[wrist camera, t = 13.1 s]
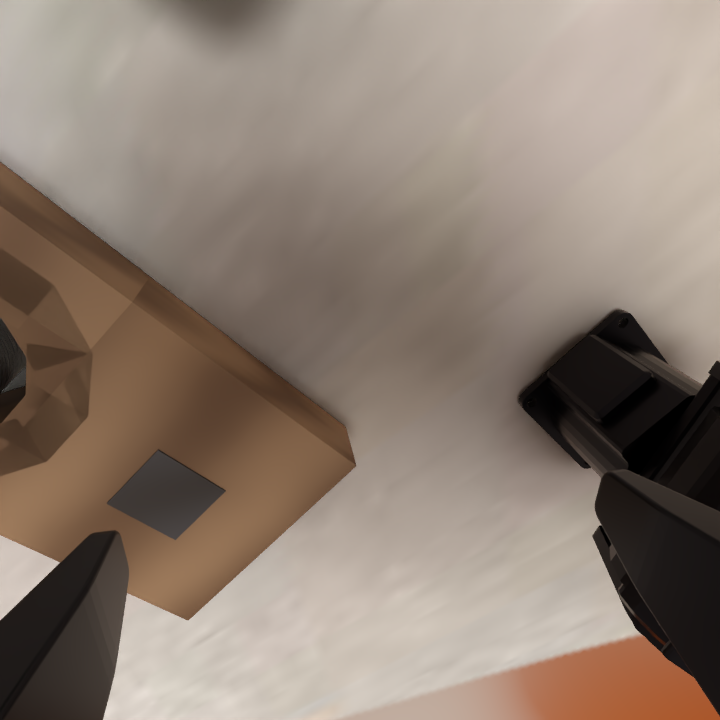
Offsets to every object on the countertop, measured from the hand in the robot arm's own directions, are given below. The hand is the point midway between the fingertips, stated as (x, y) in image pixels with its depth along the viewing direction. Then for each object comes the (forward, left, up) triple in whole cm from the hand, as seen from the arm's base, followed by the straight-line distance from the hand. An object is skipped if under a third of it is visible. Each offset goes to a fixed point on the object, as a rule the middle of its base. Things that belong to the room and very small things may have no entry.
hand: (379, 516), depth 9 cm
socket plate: (+4, +9, -13) cm, 16 cm away
